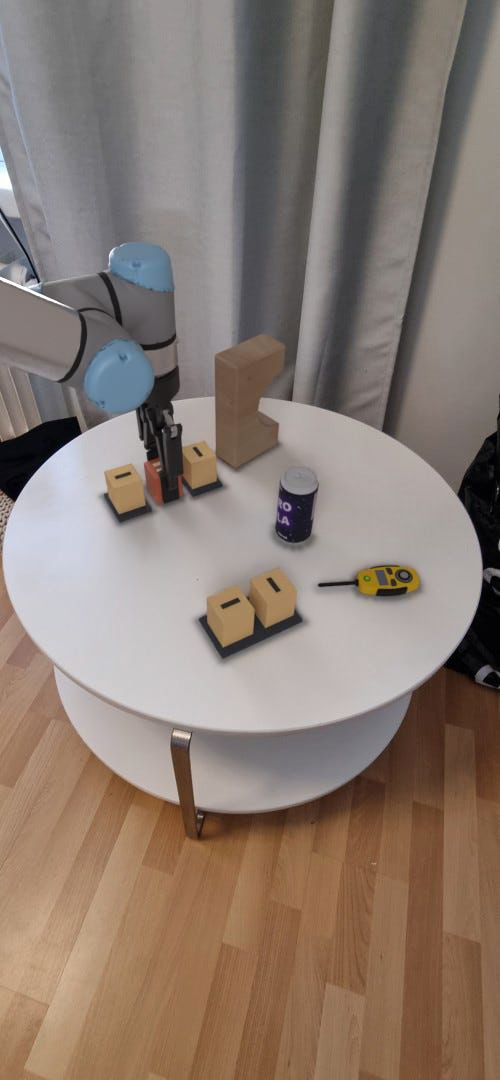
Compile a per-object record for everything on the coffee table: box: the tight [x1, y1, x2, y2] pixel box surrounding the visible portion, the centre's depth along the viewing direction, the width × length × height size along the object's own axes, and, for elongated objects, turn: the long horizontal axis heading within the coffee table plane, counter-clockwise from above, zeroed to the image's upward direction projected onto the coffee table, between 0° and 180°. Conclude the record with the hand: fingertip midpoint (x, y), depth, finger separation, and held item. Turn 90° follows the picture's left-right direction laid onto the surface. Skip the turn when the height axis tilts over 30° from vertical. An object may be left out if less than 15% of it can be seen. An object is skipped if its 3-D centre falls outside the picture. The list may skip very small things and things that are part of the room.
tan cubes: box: [103, 440, 224, 523], centre depth 96 cm, size 19×7×6 cm, turn 120°
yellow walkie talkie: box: [317, 564, 421, 597], centre depth 85 cm, size 5×2×15 cm
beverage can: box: [275, 464, 320, 544], centre depth 88 cm, size 6×6×12 cm
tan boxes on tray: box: [198, 567, 303, 660], centre depth 79 cm, size 12×7×6 cm, turn 120°
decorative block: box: [214, 332, 286, 469], centre depth 100 cm, size 11×6×20 cm, turn 133°
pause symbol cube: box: [143, 458, 184, 505], centre depth 97 cm, size 5×5×6 cm
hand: (164, 490), depth 98 cm, fingers closed on pause symbol cube, 5 cm apart
